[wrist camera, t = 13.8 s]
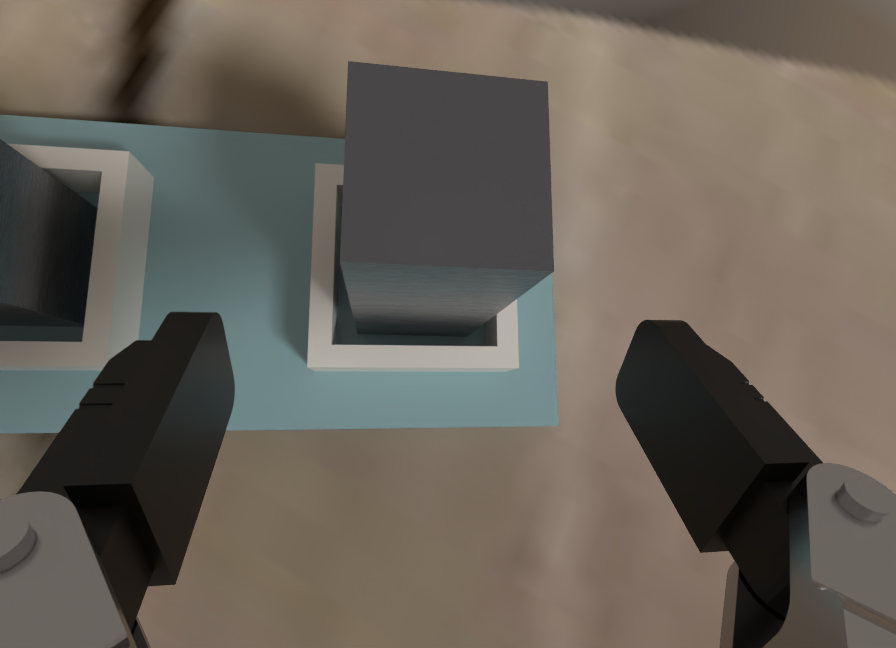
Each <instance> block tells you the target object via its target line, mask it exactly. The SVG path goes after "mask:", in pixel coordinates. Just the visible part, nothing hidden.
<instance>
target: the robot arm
mask: <svg viewBox="0 0 896 648" xmlns="http://www.w3.org/2000/svg"><path fill="white" fill-rule="evenodd" d="M234 397H235V382H234V375H233V370H232V365H231V360H230V355H229V350H228V345H227V340H226V335H225V330H224V325H223V321H222V318H221V316H220V314H219V313H217V312H170V313H168V314H167V316H166V317H165V319H164V320H163V322H162V324H161V325H160V327H159V329H158V330H157V332H156V334H155V335H154V337H153V338H152V340H136V341H134V342H133V343H132V344H130V345H129V346H127V347H126V348H125V349H123V350H122V351H121V352H119V353H118V354H116V355H115V356H114V357H112V358H111V359H110V360H109V361H108V362H107V364H106V365H105V366H104V368H103V369H102V371H101V372H100V374H99V375H98V377H97V378H96V380H95V381H94V383H93V388H89V390H88V391H87V393H86V394H85V396H84V397H83V399H82V400H81V401H80V403H79V409H75V410H74V412H73V413H72V415H71V416H70V417H69V419H68V420H67V422H66V423H65V425H64V426H63V428H62V429H61V431H60V432H59V434H58V435H57V436H56V438H55V439H54V441H53V442H52V444H51V445H50V447H49V448H48V450H47V451H46V452H45V454H44V455H43V457H42V458H41V460H40V461H39V463H38V464H37V466H36V467H35V468H34V470H33V471H32V473H31V474H30V476H29V477H28V479H27V480H26V482H25V483H24V485H23V486H22V487H21V489H20V490H19V491H18V493H17V494H16V495H13V496H9V497H6V498H3V499H0V648H151V647H150V645H149V642H148V640H147V638H146V635H145V633H144V631H143V628H142V626H141V624H140V621H139V619H138V617H137V614H138V611H139V609H140V606H141V603H142V600H143V598H144V595H145V592H146V590H147V587H148V586H160V585H175V584H176V581H177V578H178V575H179V572H180V569H181V566H182V563H183V560H184V556H185V553H186V550H187V547H188V544H189V541H190V538H191V535H192V532H193V529H194V526H195V523H196V520H197V517H198V514H199V511H200V508H201V505H202V502H203V498H204V495H205V492H206V489H207V486H208V483H209V480H210V477H211V474H212V471H213V468H214V465H215V462H216V459H217V456H218V453H219V450H220V447H221V444H222V440H223V437H224V434H225V431H226V428H227V425H228V422H229V419H230V416H231V413H232V409H233V405H234ZM616 398H617V402H618V405H619V407H620V409H621V411H622V413H623V414H624V416H625V418H626V420H627V422H628V423H629V425H630V427H631V429H632V431H633V432H634V434H635V436H636V438H637V440H638V441H639V443H640V445H641V447H642V449H643V450H644V452H645V454H646V456H647V458H648V459H649V461H650V463H651V465H652V467H653V468H654V470H655V472H656V474H657V476H658V477H659V479H660V481H661V483H662V485H663V486H664V488H665V490H666V492H667V494H668V495H669V497H670V499H671V501H672V503H673V504H674V506H675V508H676V510H677V512H678V513H679V515H680V517H681V519H682V521H683V522H684V524H685V526H686V528H687V530H688V531H689V533H690V535H691V537H692V538H693V540H694V542H695V544H696V546H697V547H698V549H699V551H700V553H703V552H719V551H729V552H730V554H731V555H732V557H733V559H734V560H735V561H734V562H733V564H732V565H731V566H730V568H729V570H728V573H727V579H726V589H725V599H724V608H723V618H722V628H721V638H720V647H719V648H896V495H895V494H894V493H893V492H892V491H891V490H889V489H888V488H887V487H886V486H884V485H883V484H881V483H880V482H878V481H877V480H875V479H873V478H872V477H870V476H868V475H866V474H864V473H862V472H860V471H857V470H855V469H852V468H849V467H847V466H843V465H839V464H832V463H823V462H822V461H821V460H820V459H819V458H818V457H817V456H816V454H815V453H814V452H813V451H812V450H811V449H810V448H809V447H808V446H807V445H806V443H805V442H804V441H803V440H802V439H801V438H800V437H799V436H798V435H797V434H796V432H795V431H794V430H793V429H792V428H791V427H790V426H789V425H788V424H787V423H786V421H785V420H784V419H783V418H782V417H781V416H780V415H779V414H778V413H777V411H776V410H775V409H774V408H773V407H772V406H771V405H770V404H769V403H768V402H764V400H763V398H764V397H763V396H762V395H761V394H760V393H759V392H758V391H757V389H756V388H755V387H754V386H753V385H749V381H748V379H747V378H746V377H745V376H744V375H743V374H742V373H741V372H740V371H739V370H738V368H737V367H736V366H735V365H734V364H733V363H732V362H731V361H730V360H728V359H727V358H725V357H724V356H722V355H721V354H719V353H718V352H716V351H715V350H713V349H712V348H710V347H709V346H708V345H706V344H705V343H704V342H703V341H702V339H701V338H700V337H699V336H698V335H697V334H696V333H695V332H694V330H693V329H692V328H691V327H690V326H689V325H688V324H687V323H686V322H684V321H681V320H644V321H642V322H641V323H640V324H639V325H638V327H637V329H636V331H635V334H634V336H633V339H632V341H631V344H630V346H629V349H628V351H627V354H626V356H625V359H624V361H623V364H622V366H621V369H620V371H619V374H618V377H617V380H616Z"/></svg>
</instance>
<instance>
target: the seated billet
mask: <svg viewBox="0 0 896 648" xmlns="http://www.w3.org/2000/svg"><path fill="white" fill-rule="evenodd" d="M97 210H98V208H97V207H95V206H94V205H92V204H91V203H90V202H88V201H87V200H85V199H84V198H83V197H81V196H80V195H78V194H77V193H76V192H74V191H73V190H71V189H70V188H69V187H67V186H66V185H64V184H63V183H62V182H60V181H59V180H57V179H56V178H54V177H53V176H52V175H50V174H49V173H47V172H46V171H45V170H43V169H42V168H40V167H39V166H38V165H36V164H35V163H33V162H32V161H31V160H29V159H28V158H26V157H25V156H24V155H22V154H21V153H19V152H18V151H16V150H15V149H14V148H12V147H11V146H9V145H8V144H7V143H5V142H4V141H2V140H1V139H0V326H56V327H84V322H85V313H86V304H87V296H88V287H89V279H90V270H91V262H92V253H93V244H94V236H95V227H96V219H97Z"/></svg>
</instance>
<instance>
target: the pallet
mask: <svg viewBox="0 0 896 648" xmlns="http://www.w3.org/2000/svg"><path fill="white" fill-rule="evenodd" d="M0 139H1V140H2V141H4V142H5V143H7V144H8V145H9V146H11V147H12V148H14V149H15V150H16V151H18V152H19V153H21V154H22V155H24V156H25V157H26V158H28V159H29V160H31V161H32V162H33V163H35V164H36V165H38V166H39V167H40V168H42V169H43V170H45V171H46V172H47V173H49V174H50V175H52V176H53V177H54V178H56V179H57V180H59V181H60V182H62V183H63V184H64V185H66V186H67V187H69V188H70V189H71V190H73V191H74V192H76V193H77V194H78V195H80V196H81V197H83V198H84V199H85V200H87V201H88V202H90V203H91V204H92V205H94V206H95V207H97V208H98V210H97V219H96V227H95V236H94V244H93V253H92V262H91V270H90V279H89V287H88V296H87V304H86V313H85V322H84V327H56V326H0V434H2V433H59V432H60V431H61V429H62V428H63V426H64V425H65V423H66V422H67V420H68V419H69V417H70V416H71V415H72V413H73V412H74V410H75V409H79V403H80V401H81V400H82V399H83V397H84V396H85V394H86V393H87V391H88V390H89V388H93V383H94V381H95V380H96V378H97V377H98V375H99V374H100V372H101V371H102V369H103V368H104V366H105V365H106V364H107V362H108V361H109V360H110V359H111V358H112V357H114V356H115V355H116V354H118V353H119V352H121V351H122V350H123V349H125V348H126V347H127V346H129V345H130V344H132V343H133V342H134V341H136V340H152V338H153V337H154V335H155V334H156V332H157V330H158V329H159V327H160V325H161V324H162V322H163V320H164V319H165V317H166V316H167V314H168V313H170V312H217V313H219V314H220V316H221V318H222V321H223V325H224V330H225V335H226V340H227V345H228V350H229V355H230V360H231V365H232V370H233V375H234V382H235V397H234V405H233V409H232V413H231V416H230V419H229V422H228V425H227V428H226V430H297V429H371V428H444V427H518V426H559V420H558V397H557V373H556V350H555V327H554V303H553V280H552V273H551V274H550V275H548V276H547V277H546V278H544V279H543V280H542V281H540V282H539V283H538V284H536V285H535V286H534V287H532V288H531V289H530V290H528V291H527V292H526V293H524V294H523V295H522V296H520V297H519V298H518V299H516V300H515V301H514V302H512V303H511V304H510V305H508V306H507V307H506V308H504V309H503V310H502V311H500V312H499V313H498V314H496V315H495V316H494V317H492V318H491V319H490V320H488V321H487V322H486V323H484V324H483V325H482V326H480V327H479V328H478V329H476V330H475V331H474V332H472V333H471V334H470V335H468V336H467V337H455V336H414V335H374V334H357V329H356V325H355V321H354V317H353V313H352V309H351V305H350V301H349V297H348V293H347V289H346V285H345V281H344V276H343V272H342V268H341V264H340V247H341V223H342V199H343V175H344V151H345V139H340V138H325V137H311V136H297V135H283V134H269V133H255V132H241V131H226V130H212V129H198V128H184V127H170V126H156V125H142V124H127V123H113V122H99V121H85V120H71V119H57V118H43V117H28V116H14V115H0Z"/></svg>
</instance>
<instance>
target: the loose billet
mask: <svg viewBox="0 0 896 648" xmlns="http://www.w3.org/2000/svg"><path fill="white" fill-rule="evenodd" d="M340 264H341V268H342V272H343V276H344V281H345V285H346V289H347V293H348V297H349V301H350V305H351V309H352V313H353V317H354V321H355V325H356V329H357V334H374V335H414V336H455V337H467V336H468V335H470V334H471V333H472V332H474V331H475V330H476V329H478V328H479V327H480V326H482V325H483V324H484V323H486V322H487V321H488V320H490V319H491V318H492V317H494V316H495V315H496V314H498V313H499V312H500V311H502V310H503V309H504V308H506V307H507V306H508V305H510V304H511V303H512V302H514V301H515V300H516V299H518V298H519V297H520V296H522V295H523V294H524V293H526V292H527V291H528V290H530V289H531V288H532V287H534V286H535V285H536V284H538V283H539V282H540V281H542V280H543V279H544V278H546V277H547V276H548V275H550V274H551V273H552V272H554V259H553V229H552V199H551V168H550V138H549V108H548V82H544V81H535V80H525V79H515V78H506V77H496V76H486V75H476V74H467V73H457V72H447V71H437V70H428V69H418V68H408V67H399V66H389V65H379V64H369V63H360V62H350V61H348V80H347V104H346V128H345V151H344V175H343V199H342V223H341V247H340Z"/></svg>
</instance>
